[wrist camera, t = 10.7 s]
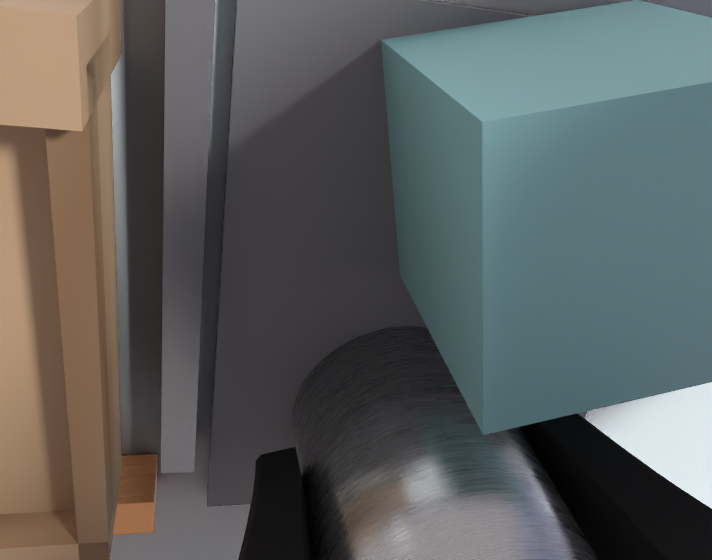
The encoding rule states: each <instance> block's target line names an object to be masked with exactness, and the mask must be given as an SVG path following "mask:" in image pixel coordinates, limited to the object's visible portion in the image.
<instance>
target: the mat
mask: <svg viewBox="0 0 712 560" xmlns="http://www.w3.org/2000/svg"><path fill="white" fill-rule="evenodd" d="M530 16H535V15H528V14H521V13H515V12H508V11H501V10H494V9H488V8H481V7H474V6H467V5H460V4H454V3H447V2H440V1H433V0H236V10H235V27H234V44H233V61H232V78H231V95H230V112H229V129H228V146H227V164H226V181H225V198H224V215H223V232H222V249H221V266H220V283H219V300H218V317H217V335H216V352H215V369H214V386H213V403H212V420H211V437H210V454H209V471H208V488H207V506H221V505H240V504H251V501H252V495H253V488H254V479H255V465H256V460H257V459H258V457H259V456H260V455H261V454H266V453H270V452H274V451H279V450H283V449H288V448H292V447H296V444H295V438H294V432H293V425H292V413H293V407H294V402H295V399H296V396H297V394H298V391H299V389H300V387H301V385H302V384H303V382H304V380H305V379H306V377H307V376H308V375H309V373H310V372H311V371H312V369H313V368H314V367H315V366H316V365H317V364H318V363H319V362H320V361H321V360H322V359H323V358H325V357H326V356H327V355H328V354H329V353H331V352H332V351H333V350H335V349H336V348H338V347H340V346H341V345H343V344H344V343H346V342H348V341H350V340H352V339H354V338H356V337H359V336H361V335H364V334H366V333H369V332H372V331H376V330H380V329H384V328H390V327H397V326H420V327H427V326H426V324H425V323H424V321H423V319H422V317H421V315H420V313H419V311H418V309H417V307H416V305H415V303H414V301H413V300H412V298H411V296H410V294H409V292H408V290H407V288H406V286H405V284H404V282H403V280H402V278H401V277H400V268H399V256H398V244H397V231H396V219H395V207H394V195H393V182H392V170H391V158H390V146H389V134H388V121H387V109H386V97H385V85H384V72H383V60H382V48H381V40H382V39H388V38H395V37H401V36H408V35H414V34H421V33H427V32H433V31H440V30H446V29H453V28H459V27H466V26H472V25H478V24H485V23H491V22H498V21H504V20H511V19H517V18H524V17H530ZM586 413H587V411H585V412H580V413H578V414H579V415H580V416H582V417H583V418H585V415H586ZM296 452H297V450H296ZM297 457H298V456H297Z"/></svg>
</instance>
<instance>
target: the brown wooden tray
mask: <svg viewBox="0 0 712 560" xmlns="http://www.w3.org/2000/svg"><path fill="white" fill-rule="evenodd" d="M121 53H122V47H121V0H0V560H109V558H110V551H111V544H112V536H113V529H114V522H115V515H116V507H117V500H118V493H119V486H120V478H121V471H122V454H121V419H120V385H119V350H118V316H117V282H116V247H115V213H114V178H113V144H112V110H111V73H112V71H113V69H114V67H115V65H116V63H117V61H118V59H119V57H120V55H121Z"/></svg>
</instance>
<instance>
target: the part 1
mask: <svg viewBox="0 0 712 560" xmlns="http://www.w3.org/2000/svg"><path fill="white" fill-rule="evenodd" d="M381 48H382V60H383V72H384V85H385V97H386V109H387V121H388V134H389V146H390V158H391V170H392V182H393V195H394V207H395V219H396V231H397V244H398V256H399V268H400V277H401V278H402V280H403V282H404V284H405V286H406V288H407V290H408V292H409V294H410V296H411V298H412V300H413V301H414V303H415V305H416V307H417V309H418V311H419V313H420V315H421V317H422V319H423V321H424V323H425V324H426V326H427V328H428V330H429V332H430V334H431V336H432V338H433V340H434V342H435V344H436V346H437V347H438V349H439V351H440V353H441V355H442V357H443V359H444V361H445V363H446V365H447V367H448V369H449V371H450V372H451V374H452V376H453V378H454V380H455V382H456V384H457V386H458V388H459V390H460V392H461V394H462V395H463V397H464V399H465V401H466V403H467V405H468V407H469V409H470V411H471V413H472V415H473V417H474V418H475V420H476V422H477V424H478V426H479V428H480V430H481V432H482V434H483V435H486V434H490V433H495V432H499V431H503V430H508V429H512V428H516V427H520V426H525V425H529V424H533V423H538V422H542V421H546V420H550V419H555V418H559V417H563V416H568V415H572V414H576V413H580V412H585V411H589V410H593V409H598V408H602V407H606V406H610V405H615V404H619V403H623V402H628V401H632V400H636V399H641V398H645V397H649V396H653V395H658V394H662V393H666V392H671V391H675V390H679V389H683V388H688V387H692V386H696V385H701V384H705V383H709V382H712V17H708V16H704V15H699V14H695V13H691V12H687V11H683V10H679V9H675V8H670V7H666V6H662V5H658V4H654V3H650V2H646V1H641V0H633V1H626V2H620V3H614V4H607V5H601V6H594V7H588V8H581V9H575V10H569V11H562V12H556V13H549V14H543V15H536V16H530V17H524V18H517V19H511V20H504V21H498V22H491V23H485V24H478V25H472V26H466V27H459V28H453V29H446V30H440V31H433V32H427V33H421V34H414V35H408V36H401V37H395V38H388V39H382V40H381Z"/></svg>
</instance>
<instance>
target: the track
mask: <svg viewBox="0 0 712 560" xmlns="http://www.w3.org/2000/svg"><path fill="white" fill-rule="evenodd" d="M214 14H215V0H165V94H164V193H163V292H162V392H161V473H184V472H194V467H195V444H196V422H197V399H198V376H199V354H200V331H201V308H202V286H203V263H204V240H205V218H206V195H207V172H208V150H209V127H210V104H211V82H212V59H213V36H214ZM156 493H157V454H147V455H122V471H121V478H120V486H119V493H118V500H117V507H116V515H115V522H114V529H113V535H122V534H138V533H154V519H155V506H156Z"/></svg>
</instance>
